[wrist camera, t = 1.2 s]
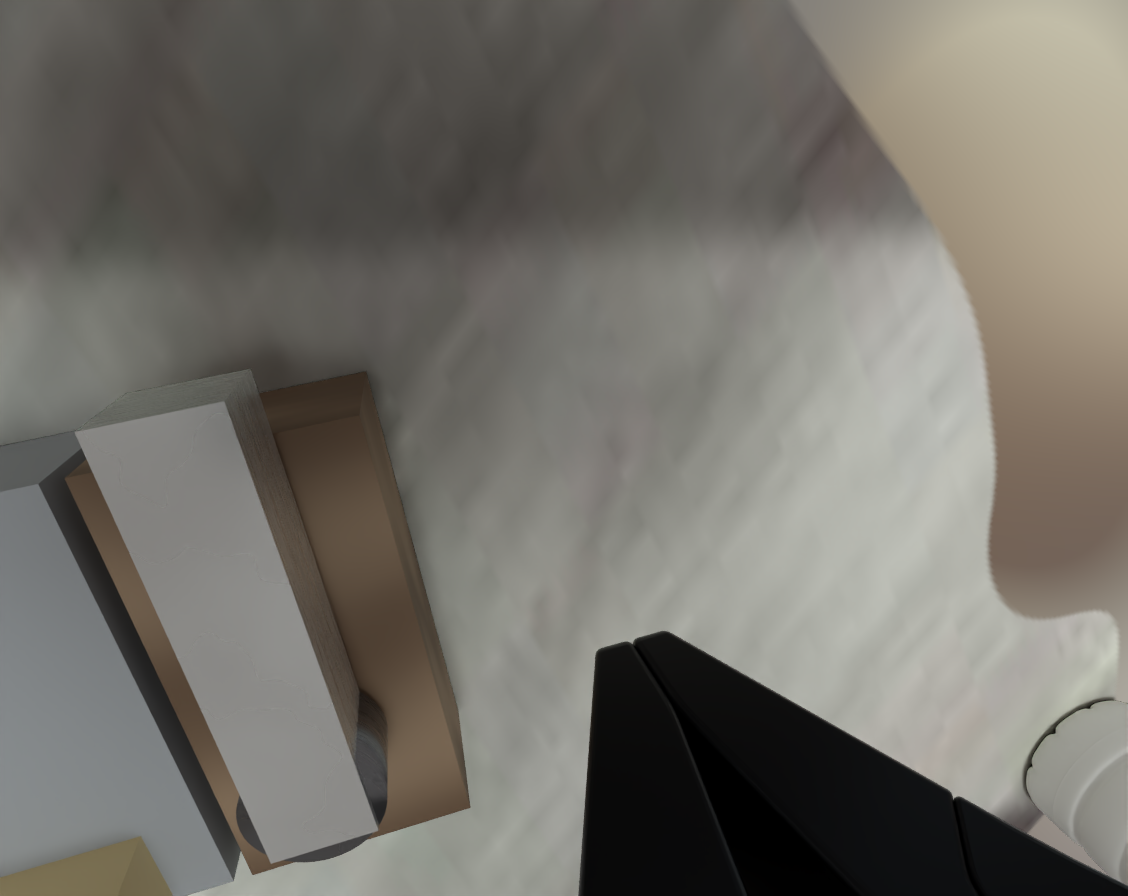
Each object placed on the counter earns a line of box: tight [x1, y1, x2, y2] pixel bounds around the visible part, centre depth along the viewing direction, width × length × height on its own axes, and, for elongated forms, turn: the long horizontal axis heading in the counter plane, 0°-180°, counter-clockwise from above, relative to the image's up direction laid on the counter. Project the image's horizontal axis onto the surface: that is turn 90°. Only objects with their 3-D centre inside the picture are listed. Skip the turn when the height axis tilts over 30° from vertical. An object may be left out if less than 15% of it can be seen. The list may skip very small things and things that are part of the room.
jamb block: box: [64, 372, 470, 875], centre depth 19 cm, size 12×6×4 cm, turn 9°
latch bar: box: [74, 369, 388, 864], centre depth 15 cm, size 11×3×2 cm, turn 9°
